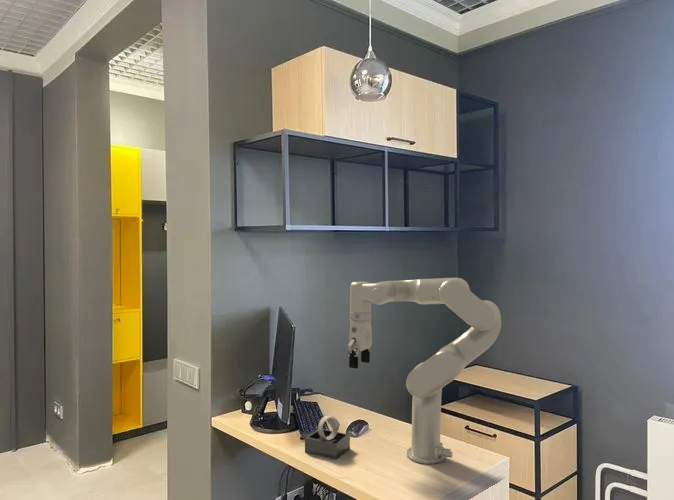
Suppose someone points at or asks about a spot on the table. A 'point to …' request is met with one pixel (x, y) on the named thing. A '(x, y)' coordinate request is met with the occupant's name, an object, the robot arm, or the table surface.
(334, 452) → the open box
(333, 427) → the watch
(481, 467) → the table surface
